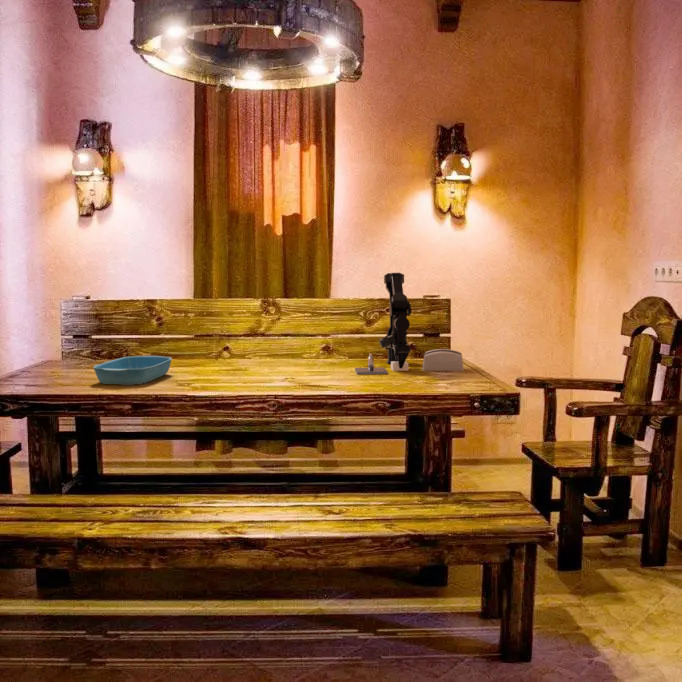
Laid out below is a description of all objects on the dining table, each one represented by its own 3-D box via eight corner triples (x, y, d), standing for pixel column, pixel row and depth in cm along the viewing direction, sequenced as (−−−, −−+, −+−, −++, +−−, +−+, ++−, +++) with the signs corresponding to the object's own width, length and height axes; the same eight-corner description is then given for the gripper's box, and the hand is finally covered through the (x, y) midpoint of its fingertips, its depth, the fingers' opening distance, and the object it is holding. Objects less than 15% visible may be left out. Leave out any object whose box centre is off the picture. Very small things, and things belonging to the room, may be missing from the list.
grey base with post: (354, 370, 298) (354, 352, 298) (383, 369, 299) (383, 351, 298) (357, 374, 286) (357, 355, 286) (387, 374, 287) (387, 355, 286)
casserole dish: (143, 388, 260) (142, 368, 259) (84, 387, 263) (83, 367, 262) (179, 372, 296) (179, 355, 296) (127, 372, 299) (127, 355, 299)
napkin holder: (463, 369, 299) (463, 347, 295) (463, 374, 295) (464, 352, 291) (422, 368, 301) (422, 347, 297) (422, 374, 297) (422, 352, 293)
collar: (390, 368, 302) (390, 361, 302) (406, 368, 303) (406, 361, 302) (392, 370, 296) (392, 363, 296) (408, 370, 296) (408, 363, 296)
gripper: (377, 327, 306) (377, 364, 308) (382, 331, 288) (382, 370, 290) (403, 327, 307) (403, 363, 309) (410, 331, 289) (410, 370, 290)
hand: (399, 367), depth 299 cm, fingers closed on collar, 6 cm apart
